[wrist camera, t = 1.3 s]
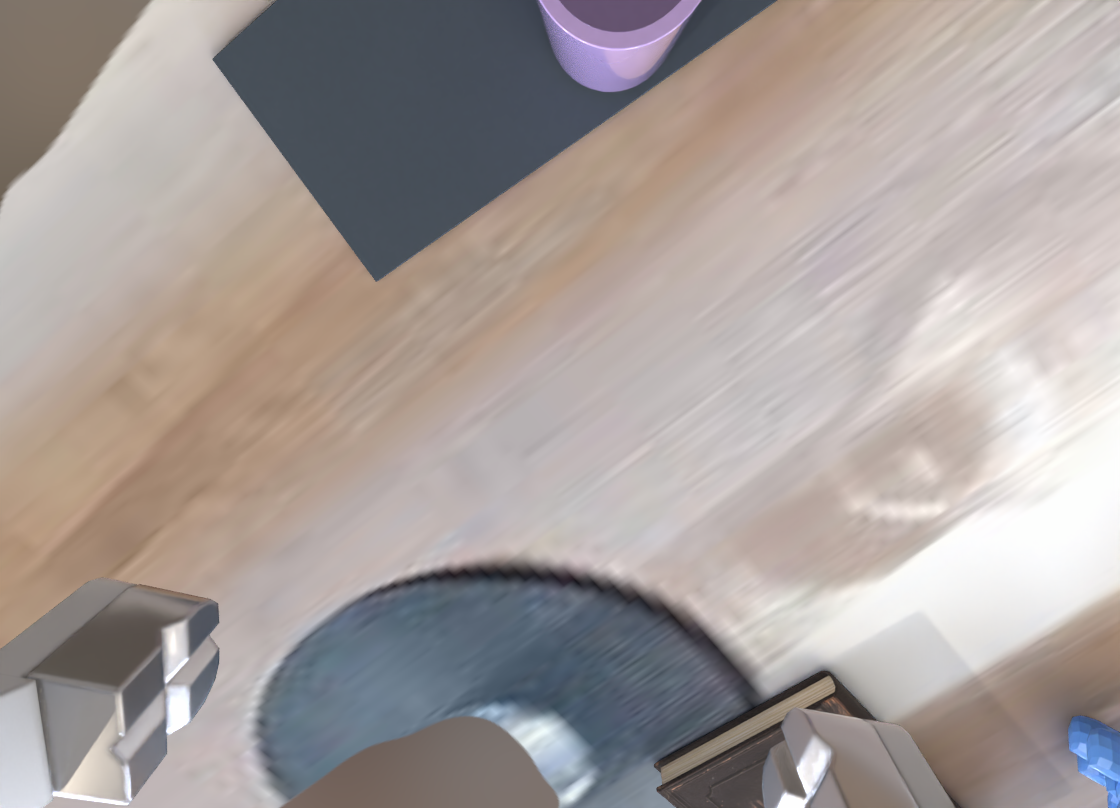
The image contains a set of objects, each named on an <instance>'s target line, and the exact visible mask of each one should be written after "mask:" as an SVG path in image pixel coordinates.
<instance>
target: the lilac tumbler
mask: <svg viewBox="0 0 1120 808" xmlns="http://www.w3.org/2000/svg"><path fill="white" fill-rule="evenodd" d="M700 2H701V0H537V4H538V7H539V10H540V13H541V16H542V20H543V23H544V26H545V29H546V32H547V36H548V39H549V42H550V45H551V48H552V50H553V53H554V55H555V57H556V59H557V60H558V62H559V63H560V65H561V66H562V68H563V69H564V70H565V71H566V72H567V74H569V75H570V76H571V77H572V78H573V79H574V80H576V81H577V82H579V83H580V84H582V85H584V86H586V87H588V88H590V89H593V90H596V91H602V92H618V91H623V90H627V89H630V88H633V87H635V86H637V85H639V84H641V83H642V82H644V81H646V80H647V79H648V78H649V77H651V76H652V75H653V74H654V73H655V72H656V71H657V70H658V69H659V68H660V67H661V65H662V64H663V63H664V61H665V60H666V58H667V57H668V55H669V53H670V52H671V50H672V48H673V47H674V45H675V43H676V42H677V40H678V38H679V37H680V35H681V33H682V32H683V30H684V28H685V27H686V25H687V23H688V22H689V20H690V18H691V17H692V15H693V13H694V12H695V10H696V8H697V7H698V5H699V3H700Z"/></svg>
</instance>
